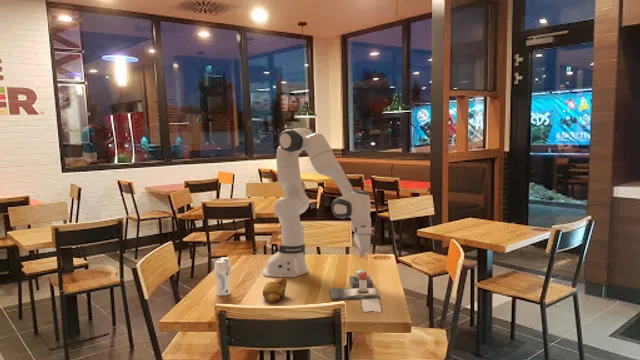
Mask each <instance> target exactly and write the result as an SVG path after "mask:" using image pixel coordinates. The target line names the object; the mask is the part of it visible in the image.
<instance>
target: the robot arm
mask: <svg viewBox="0 0 640 360" xmlns="http://www.w3.org/2000/svg"><path fill="white" fill-rule="evenodd" d="M278 145H279V146H278V147H277V149H276V171H277V172H276V173H277V179H278V184H279V186H280V187H281V188H282V192H283V194H284V196H281V197H280V198H278V199H277V200H276V201H275V203H274V206H273V212H274V215H276V216H277V218H278V220H279V224H280V229H281V230H280V231H281V243H280V242H278V243H277V245H276V247H277V252H276V253H275V252H274V254H273V255H271V257H268V260H267V263H266V266H265V267H264V268H263V269H262V276H264V277H268V278H269V277H270V278H271V277H274V278H275V277H277V278H278V277H279V278H281V277H284V278H296V277H298V276H301V275H305V274H307V273H308V272H309V271H308V267H307V263H306V256H305V255H306V244H305V229H304V227H303V226H304V225H302V222H301V218H300V215H301V214H303V213H305V212H306V211H307V209H308V208H309V207H310V198H309V197H308V196H307V194H306V192H305V189H304V187H303V183H302V177H301V169H300V159H299V156H300V154H301V153H305V152H306V153H307V155H308V158H309V161H310V163H311V166H312V167H313V169H314V170H315V171H316V173H318V174H319V175H322V176H325V177H327V178H330V179H331V180H332V181H334V183H335V184H336V186H337V187H338V189H339V191H340V193H341V195H342V196H339V197H337V198H334V199H333V200H332V202H331V205H330V208H331V212H332V214H333V216H334V217H336V218H338V219H345V218H350V223H351V224H350V227H351V228H350V229H351V231H352V232H354V233H353V234H354V235H353V237H354V242H355V244H356V246H357V247H358V252H359V253H358V254H359V257H360V258H365V253H366V252H370V249H371V234H372V233H373V232H372V231H373V229H372V218H371V211H372V207H371V199H370V194H369V192H368V191H366V190H363V189H355V188H354V186H353V184H352V182H351V181H350V178H349V177H348V175H347V174H346V172H345V170H344V169H343V167H342V166H341V164H340V163H339V161H338V160H337V158H336V156H335V154H334V152H333V150H332V147H331V146H330V144H329V141H327V139H326V137H325V136H324V135H323V134H322V133H320V132H316V131H315V130H313V129H312V128H308V127H297V128H296V127H295V128H288V129H285V130H283V131H282V132H281V133H280V134H279V136H278Z"/></svg>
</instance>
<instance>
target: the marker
mask: <svg viewBox="0 0 640 360" xmlns="http://www.w3.org/2000/svg"><path fill="white" fill-rule="evenodd" d="M367 276H368V272H367V273H366V272H359V292H362V293H365V292H367Z"/></svg>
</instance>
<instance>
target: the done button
mask: <svg viewBox="0 0 640 360" xmlns="http://www.w3.org/2000/svg"><path fill="white" fill-rule="evenodd" d="M359 272H366V273H367V274H368V271H366V270H364V269H357V270H356V271H355V275H354V276H355V280H356V281H357V282H358V281H359Z"/></svg>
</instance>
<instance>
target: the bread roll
mask: <svg viewBox="0 0 640 360" xmlns="http://www.w3.org/2000/svg"><path fill="white" fill-rule="evenodd" d="M287 283H288V281H287V279H286V277H279V278H278V277H277V279H275V280H274V281H268V282H266V284H265V285H264V286H263V288H262V289H263V290H262V296H263V299H265V300H267V301H268V302H269V303H277V302H279V300H281V299H283V298H284V297H285V294H286V288H287Z"/></svg>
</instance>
